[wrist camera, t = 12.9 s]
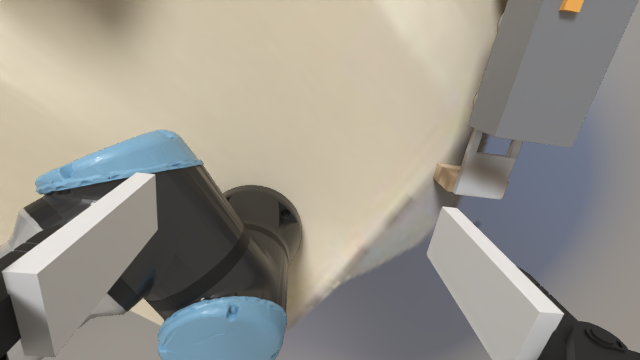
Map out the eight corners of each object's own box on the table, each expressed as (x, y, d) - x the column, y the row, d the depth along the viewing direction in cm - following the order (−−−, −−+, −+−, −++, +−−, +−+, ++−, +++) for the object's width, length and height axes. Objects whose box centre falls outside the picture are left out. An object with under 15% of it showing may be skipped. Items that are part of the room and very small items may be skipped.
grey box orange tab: (508, 125, 47) (575, 149, 35) (448, 116, 46) (497, 138, 34) (553, 3, 41) (651, -16, 29) (485, -10, 40) (560, -34, 28)
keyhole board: (483, 184, 50) (505, 200, 45) (433, 178, 49) (449, 193, 44) (564, -38, 39) (606, -52, 34) (501, -51, 38) (534, -67, 33)
